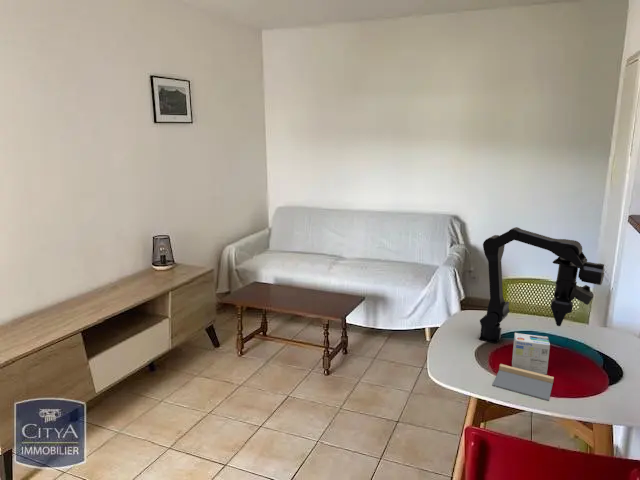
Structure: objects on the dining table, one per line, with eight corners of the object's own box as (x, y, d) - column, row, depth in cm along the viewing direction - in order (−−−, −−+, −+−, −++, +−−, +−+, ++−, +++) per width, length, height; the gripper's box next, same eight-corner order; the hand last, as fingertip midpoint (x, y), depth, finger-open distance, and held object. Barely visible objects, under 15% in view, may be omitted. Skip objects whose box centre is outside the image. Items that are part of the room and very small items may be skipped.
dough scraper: (492, 385, 146) (492, 380, 146) (499, 369, 156) (500, 363, 156) (548, 400, 138) (549, 395, 138) (553, 382, 148) (553, 376, 148)
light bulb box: (545, 365, 159) (548, 336, 156) (547, 375, 153) (551, 344, 150) (510, 360, 162) (514, 331, 160) (511, 370, 156) (515, 340, 153)
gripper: (593, 291, 146) (585, 337, 150) (594, 274, 162) (586, 316, 166) (554, 284, 151) (547, 329, 155) (558, 269, 167) (552, 310, 171)
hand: (559, 321), depth 162 cm, fingers open, 9 cm apart
